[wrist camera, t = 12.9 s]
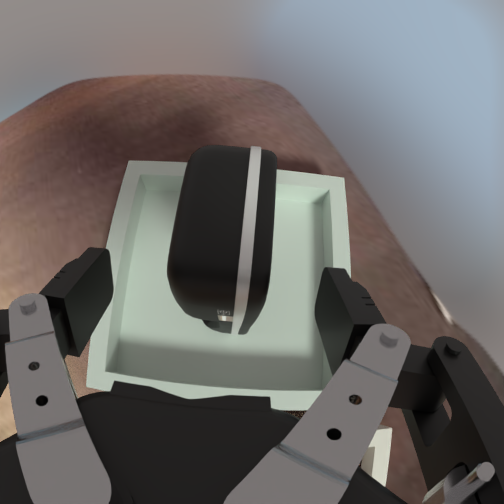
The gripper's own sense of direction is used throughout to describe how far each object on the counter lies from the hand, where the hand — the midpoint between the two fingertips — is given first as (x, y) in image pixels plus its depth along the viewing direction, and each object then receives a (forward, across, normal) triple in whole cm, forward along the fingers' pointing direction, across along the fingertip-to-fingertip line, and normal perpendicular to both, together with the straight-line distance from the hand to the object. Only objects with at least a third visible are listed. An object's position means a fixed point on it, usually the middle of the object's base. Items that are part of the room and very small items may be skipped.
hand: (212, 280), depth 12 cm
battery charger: (+9, 0, +5) cm, 10 cm away
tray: (+9, 0, +6) cm, 11 cm away
